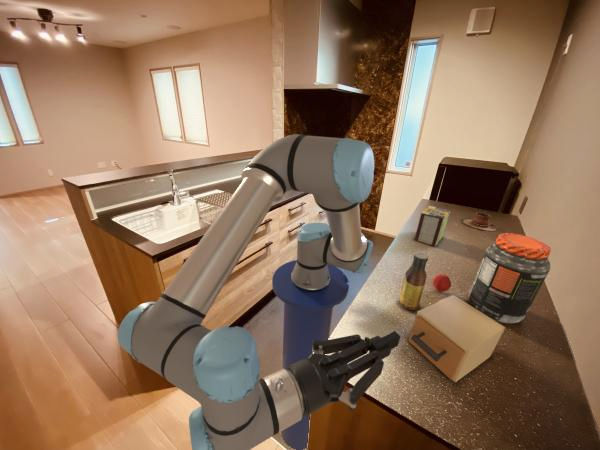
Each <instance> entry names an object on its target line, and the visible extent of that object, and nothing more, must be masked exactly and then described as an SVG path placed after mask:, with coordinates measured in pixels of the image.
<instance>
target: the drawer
mask: <svg viewBox="0 0 600 450" xmlns="http://www.w3.org/2000/svg"><path fill="white" fill-rule="evenodd" d="M409 333H410V334H409V337H408V340H407V341H408V342H409V343H410V344H411V345H412V346H414V348H415V349H416V350H418V351H419V352H420V353H421V354H422V355H423V356H424V357H425V358H426V359H427V360H429V361H430V363H432V364H433V365H434V366H435V367H436V368H437V369H438V370H440V371H441V372H442V374H444V375H445V376H446V377H447V378H448V379H449V380H451V381H453V380H452V379H453V378H454V377H455V375H456V373H457V370H458V368H459V366H460V364H461V362H462V360H463V357H464V355H465V353H466V352H465V351H464V350H463V349H462V348H460V347H459V346H458V345H456V344H455V343H454V342H453V341H451V340H450V339H449V338H448V337H446V336H445V335H444V334H442V333H441V332H440V331H439V330H437V329H436V328H435V327H433V326H432V325H431V324H430V323H428V322H427V321H426V320H425V319H423V318H421V317H420V316H419V315H418V316H415V318H414V320H413V325H412V327H411V330H410V332H409Z"/></svg>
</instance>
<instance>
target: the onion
mask: <svg viewBox="0 0 600 450" xmlns="http://www.w3.org/2000/svg"><path fill="white" fill-rule="evenodd" d="M432 286H433V287H434V289H436V291H437V292H439V293H442V292H447V291H449V290H450V289H451V287H452V281H451V279H450V277H449V276H448V275H447V273H443V274H437V275H436V276H434V278H433V279H432Z"/></svg>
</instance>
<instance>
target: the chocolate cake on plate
mask: <svg viewBox="0 0 600 450" xmlns="http://www.w3.org/2000/svg"><path fill="white" fill-rule="evenodd" d="M491 218H492V216H491V214H488V213H486V212H475V216H474V217H473V218H469V219H468V218H466V219H463V221H462V223H463V224H464V225H466V226H469V227H472V228H474V229H478V230H483V231H489V232H493V231H497V230H496V229H491V228H490V227H488V226H480V225H489V223H490V224H491V222H490V220H491ZM472 221H473V222H474V223H476V224H474V223H473V222H472ZM477 224H479V225H477Z"/></svg>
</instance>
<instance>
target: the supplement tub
mask: <svg viewBox="0 0 600 450" xmlns="http://www.w3.org/2000/svg"><path fill="white" fill-rule="evenodd" d="M551 251H552V248H551V246H550V245H548V244H547V243H545V242H543V241H541V240H540V239H536V238H533V237H531V236H528V235H524V234H519V233H513V232H512V233H511V232H504V233H503V232H502V233H500V234H498V237H497V238H496V239H495V242H494V243H492V244H490V245H488V247H486V249H485V251H484V254H483V256H482V259H481V261H480V264H479V267H478V269H477V272H476V274H475V276H474V279H473V282H472V285H471V287H470V289H469V292H468V301H469V303H470V304H471V306H472V307H473V308H475V309H477V310H478V311H480V312H481V313H483V314H485V315H486V316H488V317H489V318H491V319H493V320H494V321H496V322H498V323H504V324H516V323H517V324H518V323H520V322H522V321H523V320H524V319H525V318H526V316H527V314H528V313H529V310H530V309H531V307H532V305H533V303H534V301H535V299H536V297H537V295H538V293H539V291H540V290H541V288H542V286H543V284H544V282H545V280H546V278H547V276H548V274H549V273H550V270H551V262H550V260H549V257H550V255H551V254H550V253H551Z"/></svg>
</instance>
